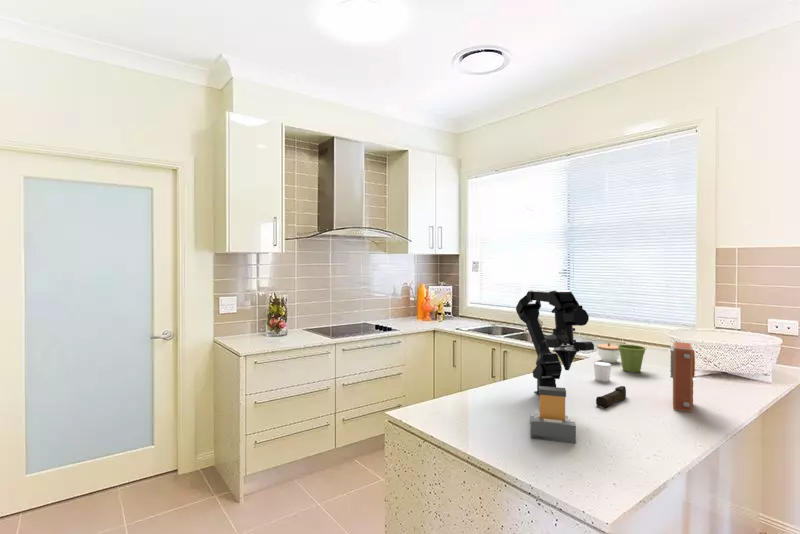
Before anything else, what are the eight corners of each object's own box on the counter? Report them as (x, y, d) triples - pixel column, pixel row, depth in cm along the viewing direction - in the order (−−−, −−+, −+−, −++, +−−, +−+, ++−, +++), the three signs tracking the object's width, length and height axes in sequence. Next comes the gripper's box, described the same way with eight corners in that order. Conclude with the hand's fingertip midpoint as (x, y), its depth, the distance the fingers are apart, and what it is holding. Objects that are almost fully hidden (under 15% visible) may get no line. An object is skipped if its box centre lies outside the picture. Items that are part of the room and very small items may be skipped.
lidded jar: (600, 363, 213) (600, 344, 212) (594, 358, 223) (594, 340, 223) (623, 364, 211) (623, 345, 211) (616, 359, 221) (616, 341, 221)
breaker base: (530, 418, 138) (530, 402, 138) (570, 422, 135) (570, 405, 135) (531, 438, 123) (531, 420, 123) (575, 443, 120) (575, 424, 119)
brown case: (692, 401, 155) (694, 414, 142) (669, 398, 159) (670, 410, 146) (693, 342, 155) (695, 350, 142) (670, 340, 158) (670, 347, 146)
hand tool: (606, 409, 147) (606, 396, 147) (595, 406, 151) (595, 393, 151) (633, 399, 159) (633, 387, 158) (622, 396, 162) (622, 384, 162)
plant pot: (651, 374, 192) (651, 349, 192) (625, 374, 192) (625, 349, 192) (637, 367, 204) (637, 344, 204) (612, 367, 204) (612, 344, 204)
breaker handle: (538, 425, 129) (538, 385, 129) (564, 428, 127) (565, 388, 127) (539, 429, 126) (539, 389, 126) (565, 432, 124) (566, 391, 124)
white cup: (612, 378, 185) (612, 362, 185) (610, 382, 179) (610, 366, 179) (594, 376, 188) (594, 360, 188) (592, 380, 183) (592, 364, 182)
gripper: (527, 326, 155) (530, 370, 154) (573, 326, 140) (577, 374, 138) (547, 325, 162) (550, 367, 160) (593, 325, 146) (597, 371, 144)
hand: (567, 370), depth 150 cm, fingers closed
